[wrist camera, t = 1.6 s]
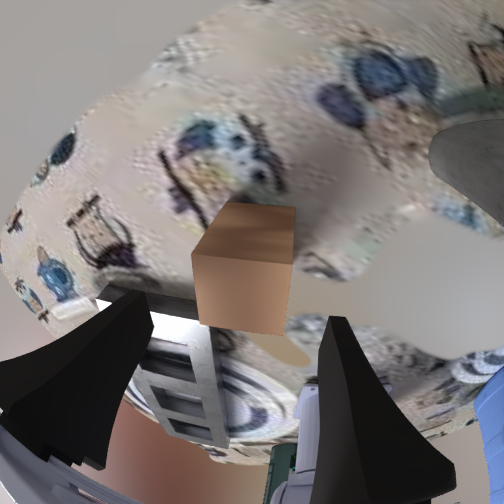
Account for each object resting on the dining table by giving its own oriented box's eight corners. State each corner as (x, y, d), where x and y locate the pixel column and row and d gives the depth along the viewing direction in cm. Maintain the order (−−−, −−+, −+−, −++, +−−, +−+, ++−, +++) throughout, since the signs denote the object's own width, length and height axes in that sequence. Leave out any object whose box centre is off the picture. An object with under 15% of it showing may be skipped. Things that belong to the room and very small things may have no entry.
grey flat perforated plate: (215, 303, 20) (208, 322, 18) (230, 438, 35) (228, 449, 34) (107, 284, 21) (95, 298, 19) (171, 425, 37) (167, 434, 35)
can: (311, 453, 36) (303, 528, 23) (276, 453, 37) (264, 526, 25) (307, 443, 33) (298, 528, 20) (269, 443, 35) (254, 525, 22)
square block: (295, 207, 15) (292, 264, 10) (288, 265, 17) (282, 335, 12) (226, 201, 16) (191, 254, 11) (227, 259, 18) (199, 324, 13)
